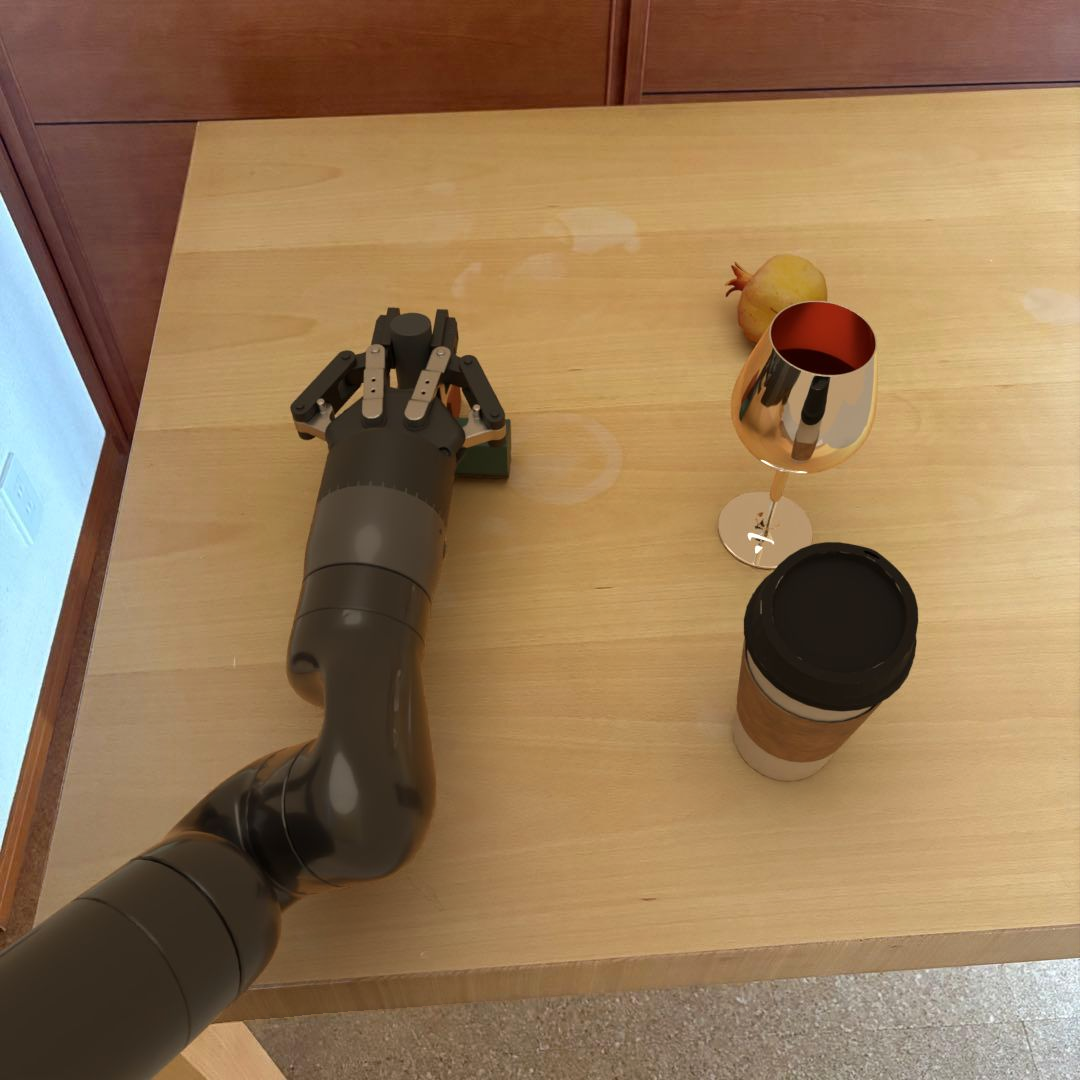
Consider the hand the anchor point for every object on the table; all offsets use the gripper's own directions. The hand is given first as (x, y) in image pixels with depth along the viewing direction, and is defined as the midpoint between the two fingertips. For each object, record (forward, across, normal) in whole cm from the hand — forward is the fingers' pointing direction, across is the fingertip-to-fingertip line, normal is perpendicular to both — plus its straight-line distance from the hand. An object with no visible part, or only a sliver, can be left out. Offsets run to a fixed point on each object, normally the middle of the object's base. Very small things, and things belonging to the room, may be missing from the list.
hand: (419, 318), depth 67 cm
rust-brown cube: (0, 0, +10) cm, 10 cm away
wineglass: (-9, -24, +10) cm, 27 cm away
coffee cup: (-24, -24, +10) cm, 35 cm away
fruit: (+10, -26, +10) cm, 30 cm away
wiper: (-5, 0, +10) cm, 11 cm away
